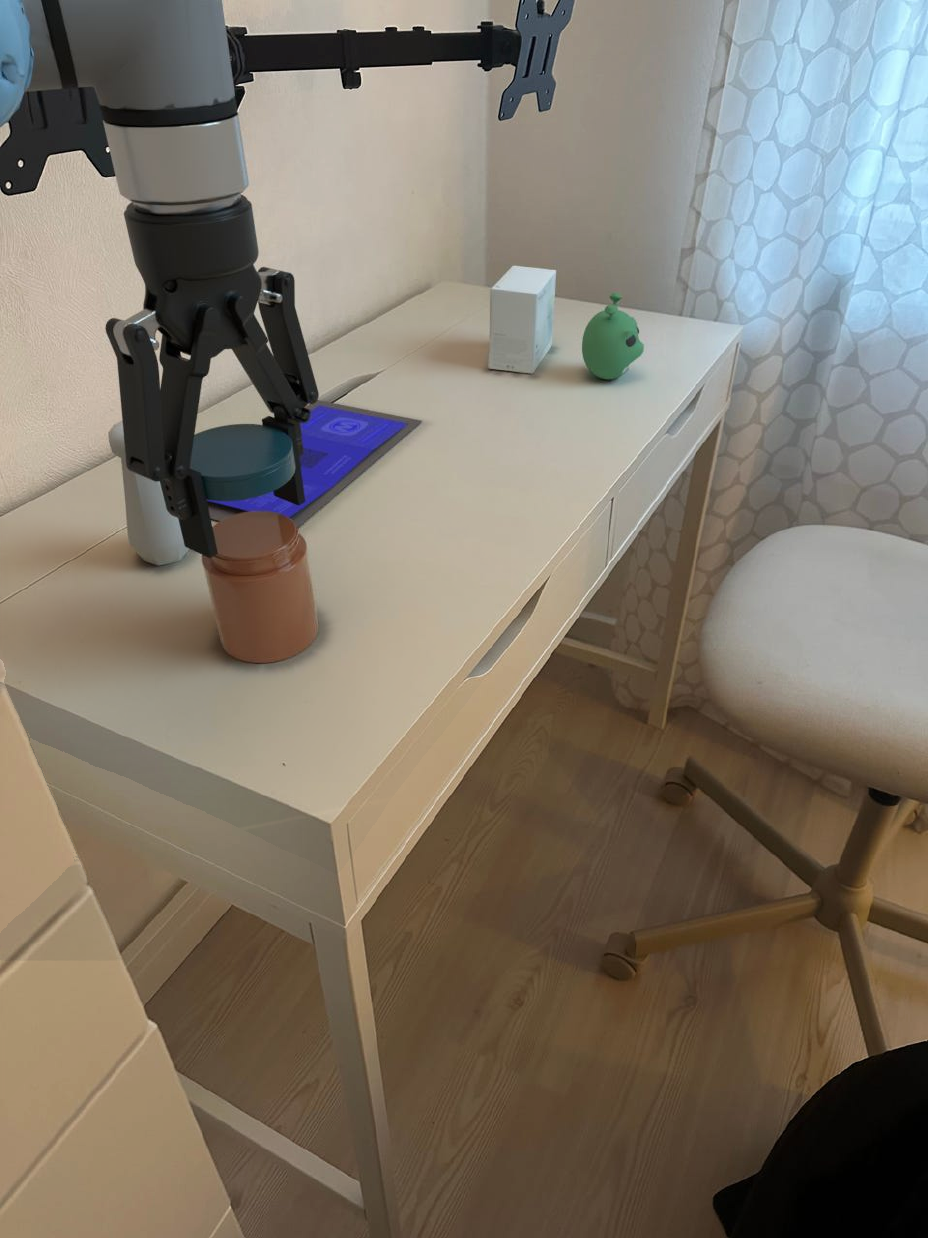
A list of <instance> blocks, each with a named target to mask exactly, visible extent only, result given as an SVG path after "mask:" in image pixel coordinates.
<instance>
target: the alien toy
mask: <svg viewBox="0 0 928 1238" xmlns="http://www.w3.org/2000/svg"><path fill="white" fill-rule="evenodd" d="M622 299H623V296H622V295H621V293H618V292H613V293H612V294H610V295H609V300H611V301H612V303H613V304H608V305H606V306H605V307H604V310H602V311H599V312H598V313H596V314H595V315H593V317H592V318H591V319H590V320H589V322H587V325H586V327H585V329H584V332H583V335H582V341H581V353H582V360H583V362H584V364H585V367H586V368H587V369H588V370H589V372H590V373H591V374H593V376H595V377H597V378H599V379H602V380H614V379H618V378H620V377H622V376H623V375H625V374H626V373H627V372H628V371H629V367H630V365H631V364H632V363H633V362H634V361H636V360H637V359H638V358H640V357H641V356H642V355H643V353H644V349H645V344H644V343H643V342H642V341H640V338H639V334H640V329H639V327H638V322H637V320H636V319H635V318H634V316H631V315H629V314H628V313H627V312H625V311H623V310H620V309H619V308H618V302H620V301H621V300H622Z"/></svg>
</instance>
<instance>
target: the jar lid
mask: <svg viewBox="0 0 928 1238" xmlns="http://www.w3.org/2000/svg"><path fill="white" fill-rule="evenodd" d="M190 469H193V470H195V471H198V472H200V473H201V477H202V481H203V486H204V491H205V495H206V500H213V501H237V500H245V499H250V498H254V497H258V496H262V495H265V494H267V493H270V492H272V491H274V490H276V489H278V488H280V487H282V486H283V485H284V484H286V483H287V482H288V481H289V480H290V479H291V478H292V476H293V474H294V472H295V460H294V453H293V446H292V441H291V439H290V437H289V436H288V435H287V434H286V433H284V432H283V431H281V430H279V429H276V428H273V427H270V426H266V425H262V424H260V423H259V424H257V423H235V424H234V423H233V424H227V425H225V424H224V425H221V426H216V427H212V428H207V429H206V430H201V431H200V432H196V433H195V434H194V441H193V448H192V455H191V462H190Z"/></svg>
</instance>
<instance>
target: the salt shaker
mask: <svg viewBox="0 0 928 1238" xmlns="http://www.w3.org/2000/svg"><path fill="white" fill-rule="evenodd" d="M107 435H108V444H109V447H110V449H111V452H112V454H113V455H114V456H116V457H118V459H119V458H120V461H121V462H120V463H121V472H122V482H123V492H124V493H123V494H124V502H125V503H124V504H125V517H126V533H127V534H126V535H127V538H128V542H129V544H130V547H131V548H132V549H133V550H134V552H136V553H137V555H138V556H140V557H141V559H142V560H143V561H144V562H146V563H150V564H152V565H154V566H155V565H156V566H158V567H159V566H165V565H168V564H172V563H176V562H180V561H181V560H182V559H183V557H185V556H186V554H187V553H188V552H189V551H190V549H189V548H187V547H185V545H184V541H183V537H182V533H181V528H180V524H179V520H178V518H177V517H174V516H172V515H170V513H169V512H168V511H167V509H166V505H165V501H164V497H163V493H162V489H161V485H160V481H159V482H155V481H153V480H150V479H148V478H146V477H143V476H141V475H139V474H136V473H134V472H132V471H130V470H129V469H128V468H127V465H126V455H125V444H124V433H123V421H122V420H120V421H118V422H117V423H115V424H113V425H112V427H111V428H110V429H109V431H108V432H107Z"/></svg>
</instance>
